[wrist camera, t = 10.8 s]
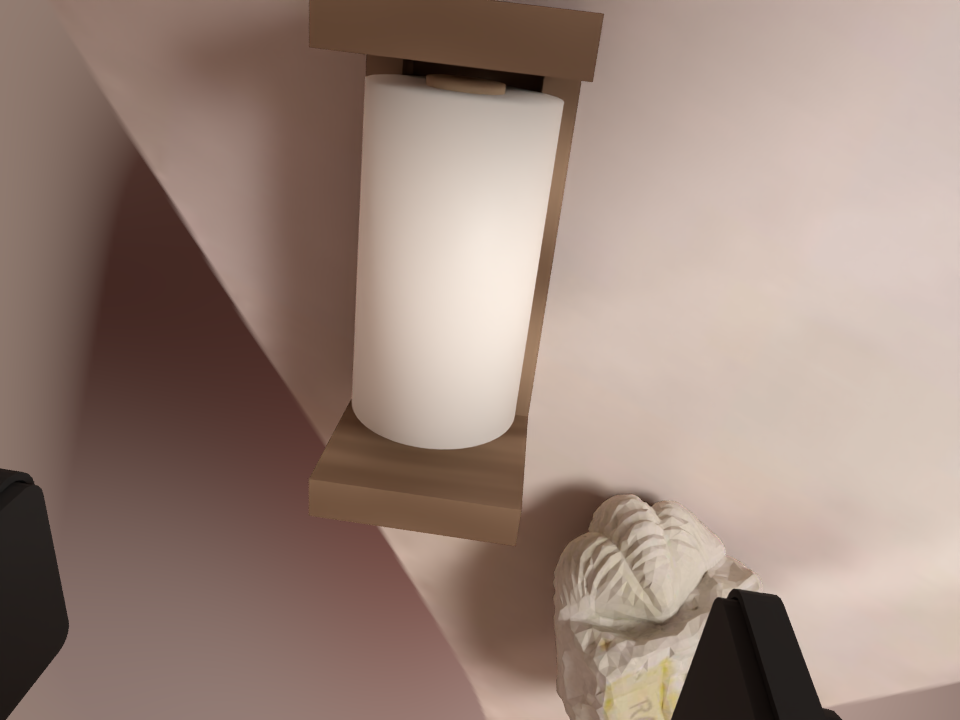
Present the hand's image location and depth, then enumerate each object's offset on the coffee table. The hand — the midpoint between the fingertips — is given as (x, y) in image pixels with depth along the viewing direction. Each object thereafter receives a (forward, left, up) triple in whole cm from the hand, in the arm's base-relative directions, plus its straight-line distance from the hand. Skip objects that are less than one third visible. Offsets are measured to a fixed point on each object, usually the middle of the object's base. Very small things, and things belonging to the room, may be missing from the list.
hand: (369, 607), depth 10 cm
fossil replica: (+16, +10, -21) cm, 28 cm away
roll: (0, -1, -19) cm, 19 cm away
